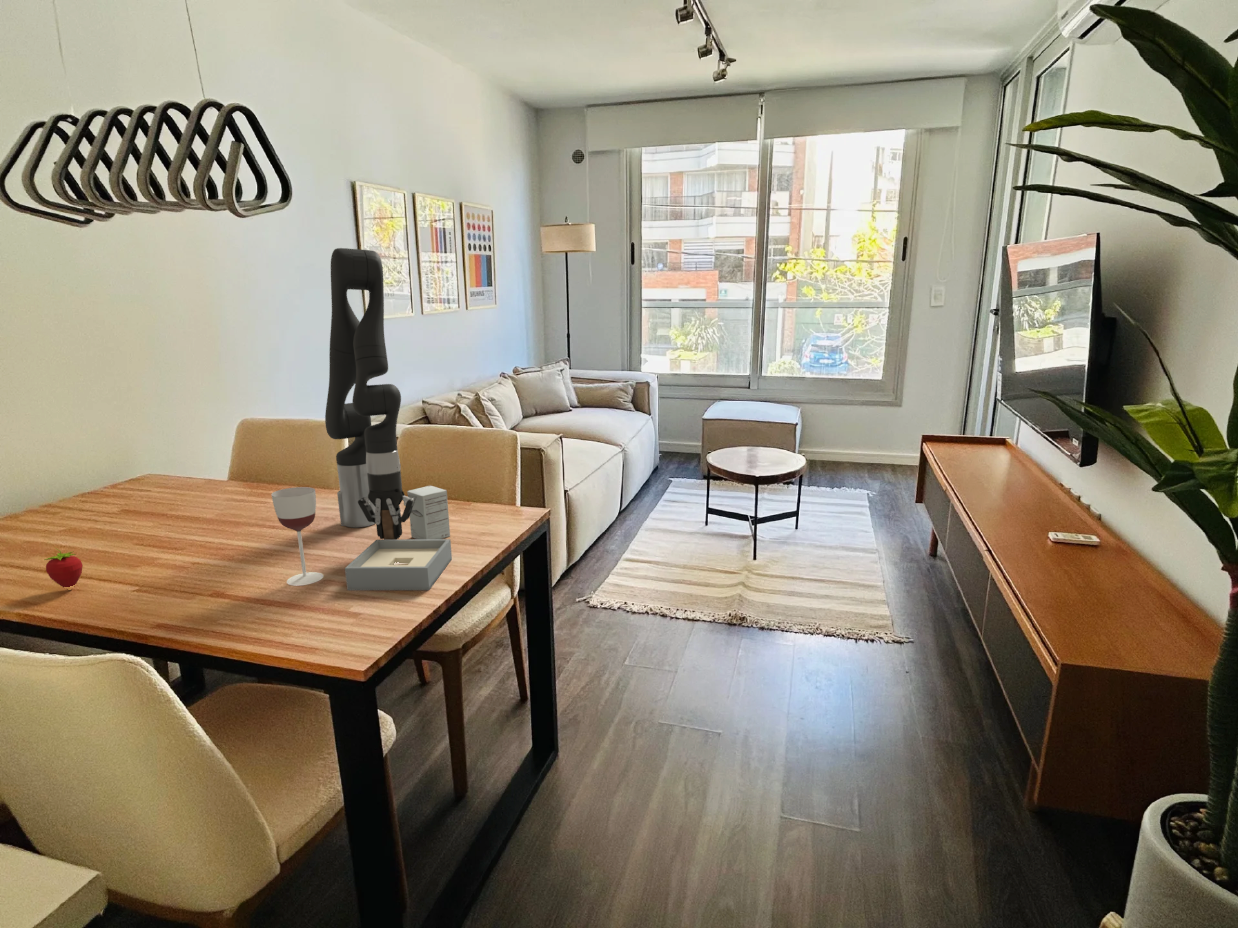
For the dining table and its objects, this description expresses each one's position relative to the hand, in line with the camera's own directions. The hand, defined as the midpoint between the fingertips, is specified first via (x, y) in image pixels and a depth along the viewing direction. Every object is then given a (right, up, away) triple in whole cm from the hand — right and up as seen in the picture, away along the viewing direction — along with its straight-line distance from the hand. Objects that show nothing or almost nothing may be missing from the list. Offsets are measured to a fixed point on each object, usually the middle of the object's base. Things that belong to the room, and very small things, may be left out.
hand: (390, 537), depth 167 cm
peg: (0, -3, +1) cm, 3 cm away
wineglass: (-14, -8, -14) cm, 21 cm away
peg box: (+7, -7, -13) cm, 16 cm away
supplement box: (+7, -1, +11) cm, 13 cm away
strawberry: (-63, -10, -18) cm, 67 cm away
